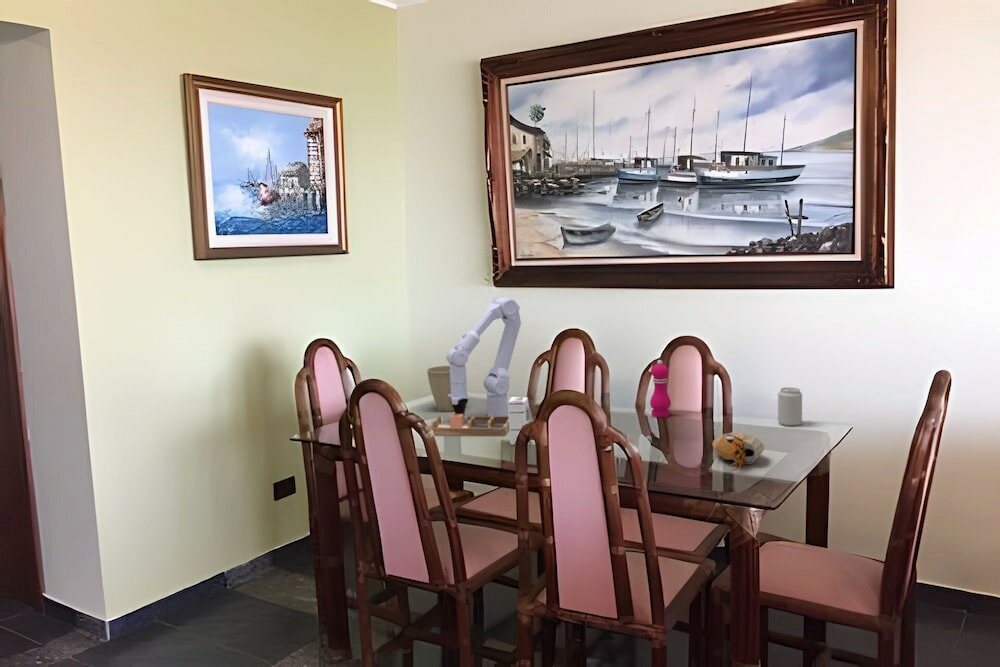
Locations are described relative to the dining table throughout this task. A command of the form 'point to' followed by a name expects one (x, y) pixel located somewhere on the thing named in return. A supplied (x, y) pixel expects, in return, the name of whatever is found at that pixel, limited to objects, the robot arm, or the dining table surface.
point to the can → (790, 406)
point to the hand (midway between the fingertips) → (460, 419)
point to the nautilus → (738, 447)
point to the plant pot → (440, 386)
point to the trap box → (473, 426)
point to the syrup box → (517, 415)
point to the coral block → (456, 420)
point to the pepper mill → (660, 391)
